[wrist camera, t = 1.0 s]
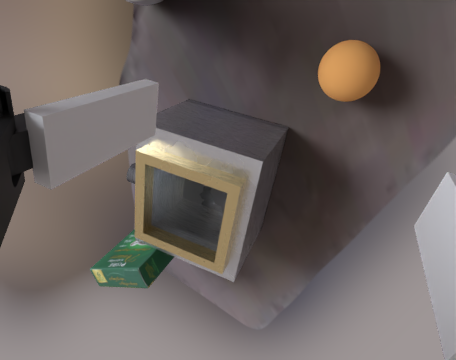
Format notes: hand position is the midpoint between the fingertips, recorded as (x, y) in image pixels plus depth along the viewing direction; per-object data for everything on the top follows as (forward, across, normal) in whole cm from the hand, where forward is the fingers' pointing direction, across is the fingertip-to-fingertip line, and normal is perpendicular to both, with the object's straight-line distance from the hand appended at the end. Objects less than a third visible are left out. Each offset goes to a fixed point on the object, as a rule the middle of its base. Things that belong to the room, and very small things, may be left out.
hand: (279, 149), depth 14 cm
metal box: (+19, -10, -13) cm, 25 cm away
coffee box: (+20, -14, -23) cm, 33 cm away
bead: (+19, +2, +2) cm, 20 cm away
